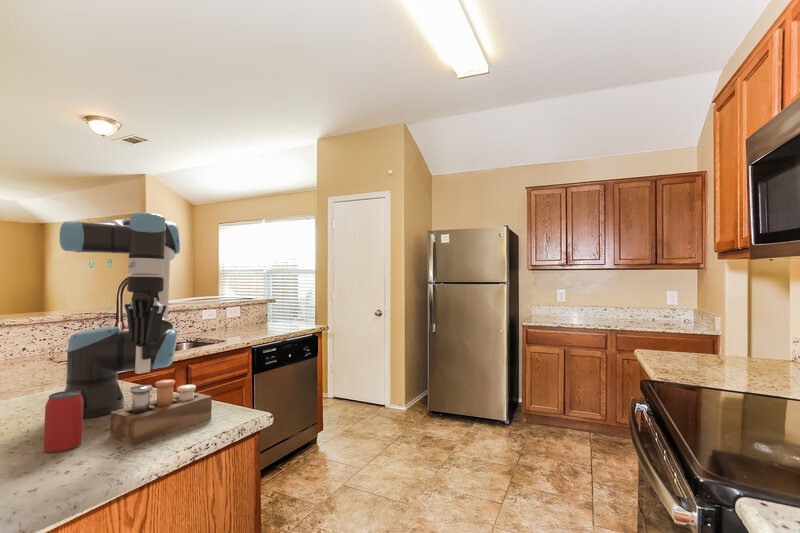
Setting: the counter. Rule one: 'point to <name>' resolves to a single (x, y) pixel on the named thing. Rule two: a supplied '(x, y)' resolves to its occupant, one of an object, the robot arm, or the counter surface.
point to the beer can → (63, 421)
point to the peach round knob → (164, 392)
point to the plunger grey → (140, 399)
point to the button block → (159, 419)
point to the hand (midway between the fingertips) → (142, 372)
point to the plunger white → (186, 392)
